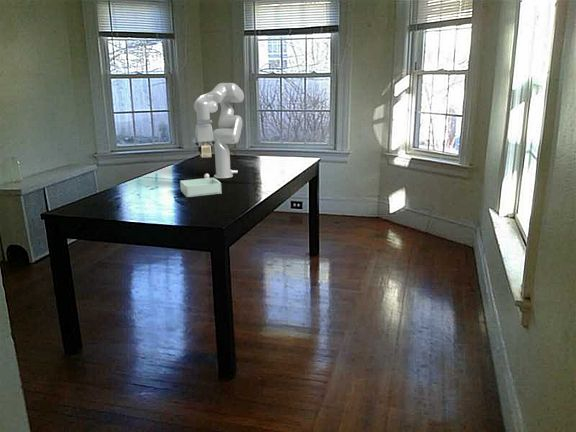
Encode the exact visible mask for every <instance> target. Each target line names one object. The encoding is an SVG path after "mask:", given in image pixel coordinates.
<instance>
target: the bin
mask: <svg viewBox="0 0 576 432" xmlns="http://www.w3.org/2000/svg"><path fill="white" fill-rule="evenodd" d="M216 179H217V178H215V177H209V178H205V177H204V178H196V179H195V178H194V179H186V180H185V179H184V180H179V184H180V186H179V187H180V192H182V194H183V195H184V196H185V197H186V198H193V197H201V196H213V195H220V194H221V195H222V194H223V193H222V183H220V181H219V180H218V179H217V180H218V181H217V180H216Z"/></svg>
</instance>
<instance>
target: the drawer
mask: <svg viewBox="0 0 576 432" xmlns="http://www.w3.org/2000/svg"><path fill="white" fill-rule="evenodd" d="M200 146H201V152H202V153H201V154H200V153H199V155H200V156H199V157H200V158H212V153H211V145H210V144H209V143H208V142H202V144H201V145H200Z"/></svg>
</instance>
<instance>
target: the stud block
mask: <svg viewBox="0 0 576 432" xmlns="http://www.w3.org/2000/svg"><path fill="white" fill-rule="evenodd" d="M203 177H204V178H210V174H209V173H205V174H204V175H203ZM215 179H216V180H217V181H219V180H218V178H215ZM219 182H220V181H219ZM220 183H221V182H220ZM221 184H222V183H221Z"/></svg>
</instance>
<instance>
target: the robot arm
mask: <svg viewBox="0 0 576 432" xmlns="http://www.w3.org/2000/svg"><path fill="white" fill-rule="evenodd" d="M244 99H245V94H244V91H243V90H242V89H241V88H240V86H238V85H237V84H236V83H234V82H220V83H218V84H216V85H215V87H214V88H213V89H212V90H211V91H210V92H209V91H208V92H207V93H204V94H201V95H200V96H198V97H197V99H196V100H195V101H194V103H193V111H195V112H196V121H197V124H196V125H195V137H194V138H193V139H192V143H194V144H195V145H196V146H197V148H198V149H197V151H198V152H197V153H199V155H200V154H201V153H202V152H201V146H200V145H202V143H204V142H207V143H208V144H209V145H211V154H212V152H213V146H214V157H215V158H214V161H215V174H214V175H213V178H215V179H228V178H229V179H230V178H232V177H233V176H234V174H238V170H237V169H231V156H230V155H231V154H230V148H229V146H228V145H229V144H230V145H231V144H232V145H233V144H238V143H239V141H240V138H241V134H242V129H243V124H244V123H243V122H244V121H243V118H242V116H240V115H237V114H235V109H234V108H233V107H232V105H231V104H233V103H237V104H238V103H242V102H243V101H244ZM230 103H231V104H230ZM218 105H220V108H221V109H220V115H219V118H218V123H217V125H218V128H216V129H214V130H213V127H212V123H213V120H212V119H211V118H210V117H211V116H210V114H213V113H216V112H217V111H218V108H219V106H218ZM227 144H228V145H227Z"/></svg>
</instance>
